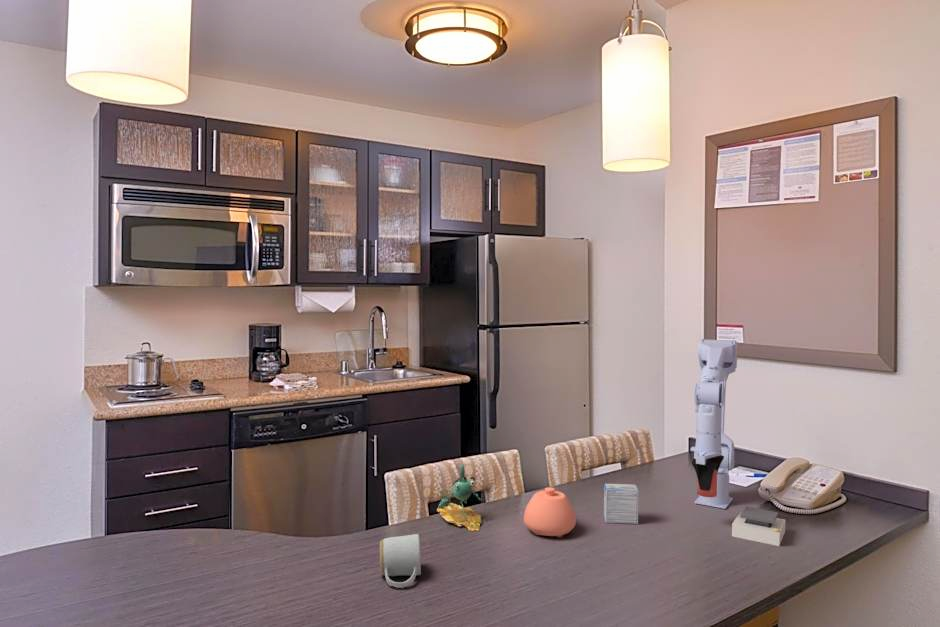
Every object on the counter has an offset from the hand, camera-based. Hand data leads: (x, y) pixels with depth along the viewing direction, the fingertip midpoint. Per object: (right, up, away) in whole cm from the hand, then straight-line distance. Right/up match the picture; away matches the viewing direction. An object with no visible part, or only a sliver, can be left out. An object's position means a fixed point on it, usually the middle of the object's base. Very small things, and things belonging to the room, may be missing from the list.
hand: (707, 487), depth 154 cm
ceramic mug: (-71, -11, -27) cm, 77 cm away
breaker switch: (+10, -9, -4) cm, 14 cm away
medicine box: (-20, -10, +4) cm, 23 cm away
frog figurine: (-60, -9, +4) cm, 61 cm away
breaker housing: (+10, -10, -4) cm, 15 cm away
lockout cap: (0, -2, 0) cm, 2 cm away
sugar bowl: (-38, -10, -2) cm, 40 cm away
